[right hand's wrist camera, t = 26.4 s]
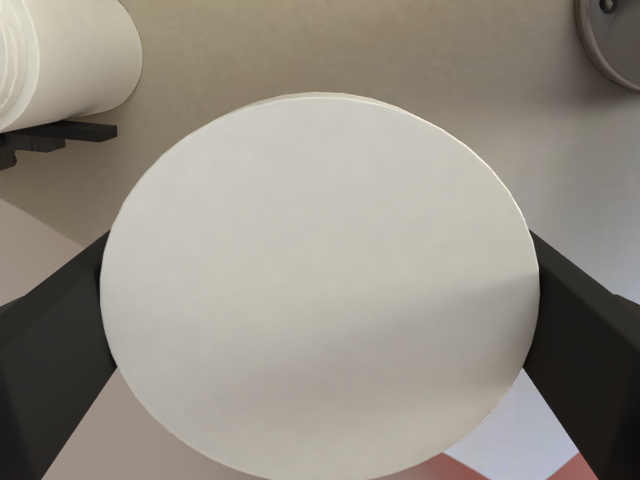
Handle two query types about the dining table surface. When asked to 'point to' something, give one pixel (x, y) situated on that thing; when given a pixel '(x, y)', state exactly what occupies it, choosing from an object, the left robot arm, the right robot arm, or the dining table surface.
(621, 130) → the dining table surface
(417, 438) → the lid
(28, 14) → the jar
